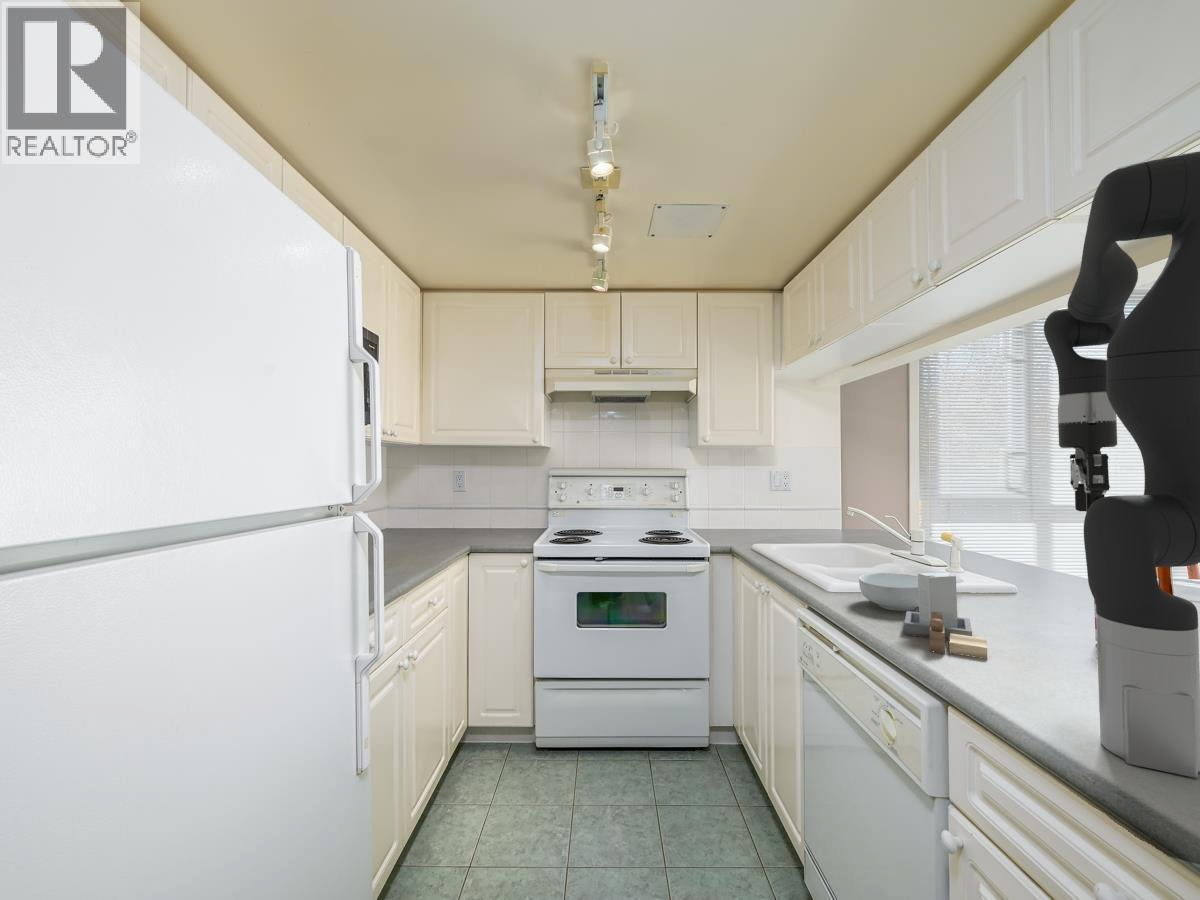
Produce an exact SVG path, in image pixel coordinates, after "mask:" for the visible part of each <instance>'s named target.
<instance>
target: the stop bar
mask: <svg viewBox="0 0 1200 900" xmlns="http://www.w3.org/2000/svg"><path fill="white" fill-rule="evenodd" d="M929 649H930V650H929V652H930V651H934V652H933V653H936V652H939V653H938V654H942V653H945V654H946V640H945V629H944V622H943V614H942V613H939V612H931V620H930V638H929Z"/></svg>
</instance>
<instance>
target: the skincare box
mask: <svg viewBox="0 0 1200 900" xmlns="http://www.w3.org/2000/svg"><path fill="white" fill-rule="evenodd" d="M917 576H918V590H919V606H918V613H919V622H920V624H927V625H930V620H931V612H939V613H942V614H943V622H944V627H951V628H958V622H957V617H958V600H957V599H958V596H957V595H958V594H957V593H958V592H957V576H956V575H953V574H951V573H946V572H923V573H917Z"/></svg>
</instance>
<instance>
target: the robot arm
mask: <svg viewBox="0 0 1200 900" xmlns="http://www.w3.org/2000/svg"><path fill="white" fill-rule="evenodd" d="M1168 235H1169V236H1170V235H1171V247H1170V250H1169V254H1168V258H1167V260H1166V263H1165V265H1164V267H1163V269H1162V271H1161V272H1160V274H1159V275H1158V277H1157V279H1156V280H1155V282H1154V283H1153V285H1152V286H1151V287H1150V289H1149V290H1148V292H1147V293H1146V294H1145V295H1144V297H1142V299H1141V300H1140V301H1139V302H1138V303H1137V305H1136V306H1135V307H1134V308H1133V309H1132V310H1131V311H1130V313H1129V314H1128V315H1127V316H1126V315H1125V306H1126V303H1127V302H1128V300H1129V298H1130V297H1131V295H1132V294H1133V292H1134V290H1135V288H1136V285H1137V283H1138V279H1139V270H1138V267H1137V264H1136V262H1135V261H1134V259H1132V257H1131V256H1130V255H1129V254H1128V253H1127V252H1126V251H1125V250H1124V249H1123V248H1122V247H1120V245H1119V244H1118V242H1127V241H1136V240H1142V239H1149V238H1158V237H1163V236H1168ZM1082 248H1083V249H1082V256H1081V262H1080V269H1079V272H1078V276H1077V278H1076V280H1075V283H1074V285H1073V288H1072V290H1071V293H1070V295H1069V297H1068V300H1067V307H1063V308H1058V309H1055V310H1053V311H1052V312H1050V314H1048V316H1047V317H1046V319H1045V321H1044V322H1043V323H1044V324H1043V333H1044V336H1045V339H1046V342H1047V345H1048V347H1049V349H1050V350H1051V353H1052V356H1053V359H1054V362H1055V365H1056V368H1057V374H1058V395H1059V398H1058V404H1057V422H1058V423H1057V424H1058V425H1057V427H1058V428H1057V429H1058V430H1057V431H1058V446H1059V447H1060V448H1061V449H1074V450H1075V452H1074V453H1070V455H1069V459H1070V485H1071V487H1072V490H1074V503H1075V504H1074V505H1075V506H1074V507H1075V510H1076V511H1078V512H1086V514H1085V516H1084V521H1083V542H1084V550H1085V551H1084V552H1085V561H1086V572H1087V583H1088V587H1089V590H1090V593H1091V596H1092V598H1093V601H1094V600H1095V603H1096V621H1097V641H1096V652H1097V674H1098V675H1097V676H1098V677H1097V678H1098V679H1097V680H1098V681H1097V682H1098V709H1099V731H1100V732H1099V733H1100V743H1101V746H1103V747H1104V748H1105V749H1106V750H1108V751H1110V753H1112V754H1114V755H1116V756H1118V757H1120V758H1121V759H1123V760H1124V761H1125V763H1126V764H1127V765H1128V764H1129V765H1132V766H1137V767H1143V768H1147V769H1152V770H1156V771H1161V772H1166V773H1171V774H1176V775H1180V776H1185V777H1190V778H1194V779H1198V778H1199V773H1200V642H1199V641H1200V639H1199V637H1200V636H1199V614H1198V613H1199V611H1198V609H1197V607H1196V605H1195V604H1194V603H1193V602H1192V601H1189V600H1188V599H1186V598H1183V597H1181V596H1178V595H1177V596H1176V595H1173V594H1171V593H1167V592H1166V591H1165V590H1163V589H1162V588H1161V586H1160V585H1159V580H1158V575H1157V568H1178V567H1180V568H1181V567H1191V566H1194V565H1197V564H1200V150H1199V151H1193V152H1188V153H1183V154H1177V155H1173V156H1168V157H1167V156H1166V157H1162V158H1157V159H1150V160H1146V161H1142V162H1141V161H1140V162H1137V163H1132V164H1127V165H1124V166H1120V167H1117V168H1114V169H1112V170H1110V171H1109V172H1107V173H1106V174H1105V176H1103V178H1102V179H1101V181H1100V182H1099V184H1098V186H1097V188H1096V190H1095V192H1094V196H1093V200H1092V203H1091V205H1090V211H1089V214H1088V221H1087V226H1086V231H1085V237H1084V243H1083V247H1082ZM1102 345H1107V349H1106V359H1104V358H1097V357H1096V358H1094V357H1085V356H1081V355H1080V354H1078V353H1077V352H1076V351H1075V349H1074V348H1083V347H1091V346H1093V347H1094V346H1102ZM1117 417H1118V419H1119V421H1120V422H1121V423H1122V424H1123V426H1124V427H1125V429H1126V430H1127V431H1128V433H1129V434H1130V436H1131V437H1132V439H1133V440H1134V442H1135V443H1136V445H1137V447H1138V449H1139V451H1140V454H1141V457H1142V463H1143V470H1144V471H1143V473H1144V489H1143V494H1135V495H1133V494H1130V495H1129V494H1128V495H1107V496H1105V495H1106V494H1107V492H1108V491H1110V489H1111V485H1110V476H1109V456H1108V454H1107V453H1102V451H1101V449H1102V448H1115V447H1117V445H1118V427H1117V426H1118V425H1117V424H1118V423H1117Z"/></svg>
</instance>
